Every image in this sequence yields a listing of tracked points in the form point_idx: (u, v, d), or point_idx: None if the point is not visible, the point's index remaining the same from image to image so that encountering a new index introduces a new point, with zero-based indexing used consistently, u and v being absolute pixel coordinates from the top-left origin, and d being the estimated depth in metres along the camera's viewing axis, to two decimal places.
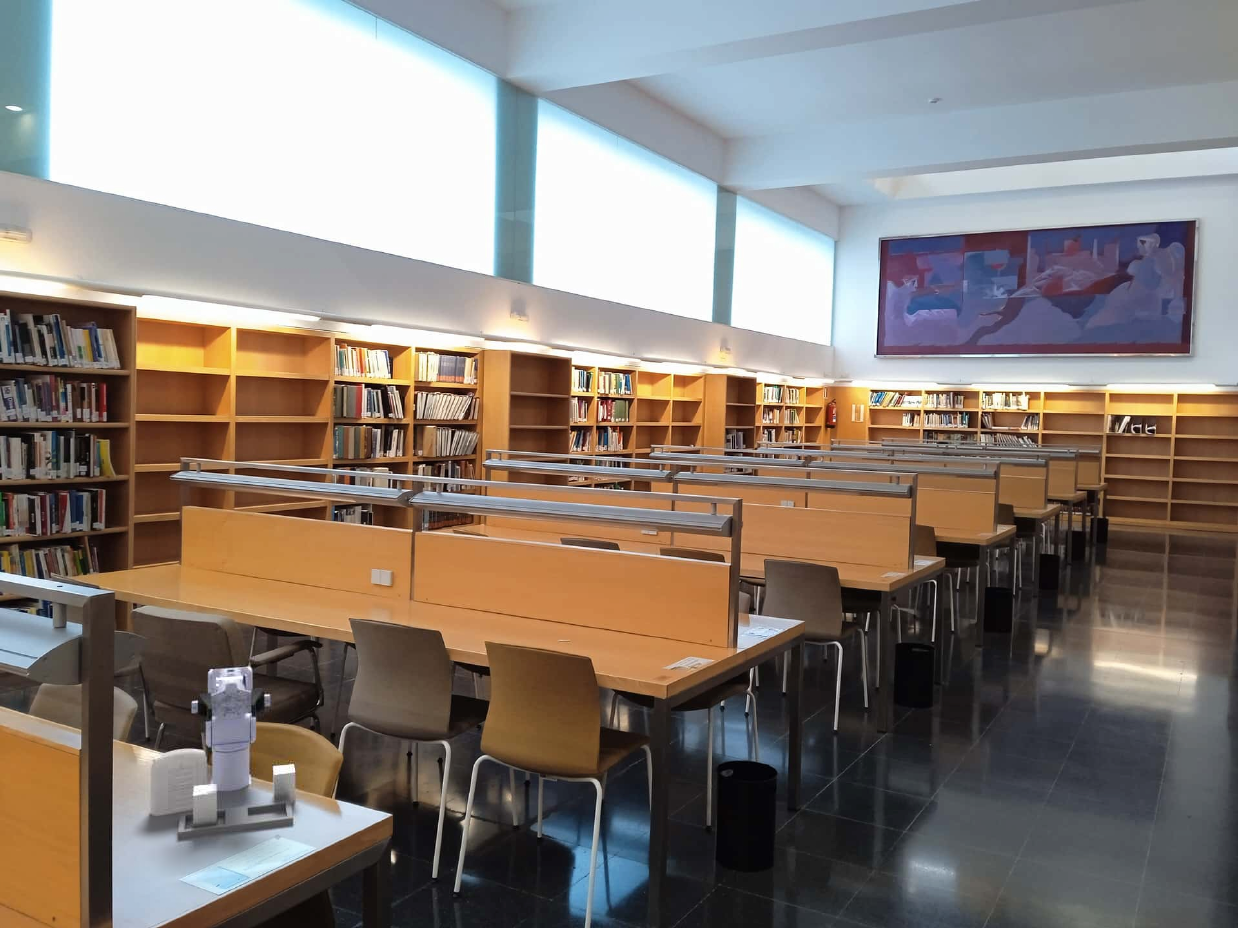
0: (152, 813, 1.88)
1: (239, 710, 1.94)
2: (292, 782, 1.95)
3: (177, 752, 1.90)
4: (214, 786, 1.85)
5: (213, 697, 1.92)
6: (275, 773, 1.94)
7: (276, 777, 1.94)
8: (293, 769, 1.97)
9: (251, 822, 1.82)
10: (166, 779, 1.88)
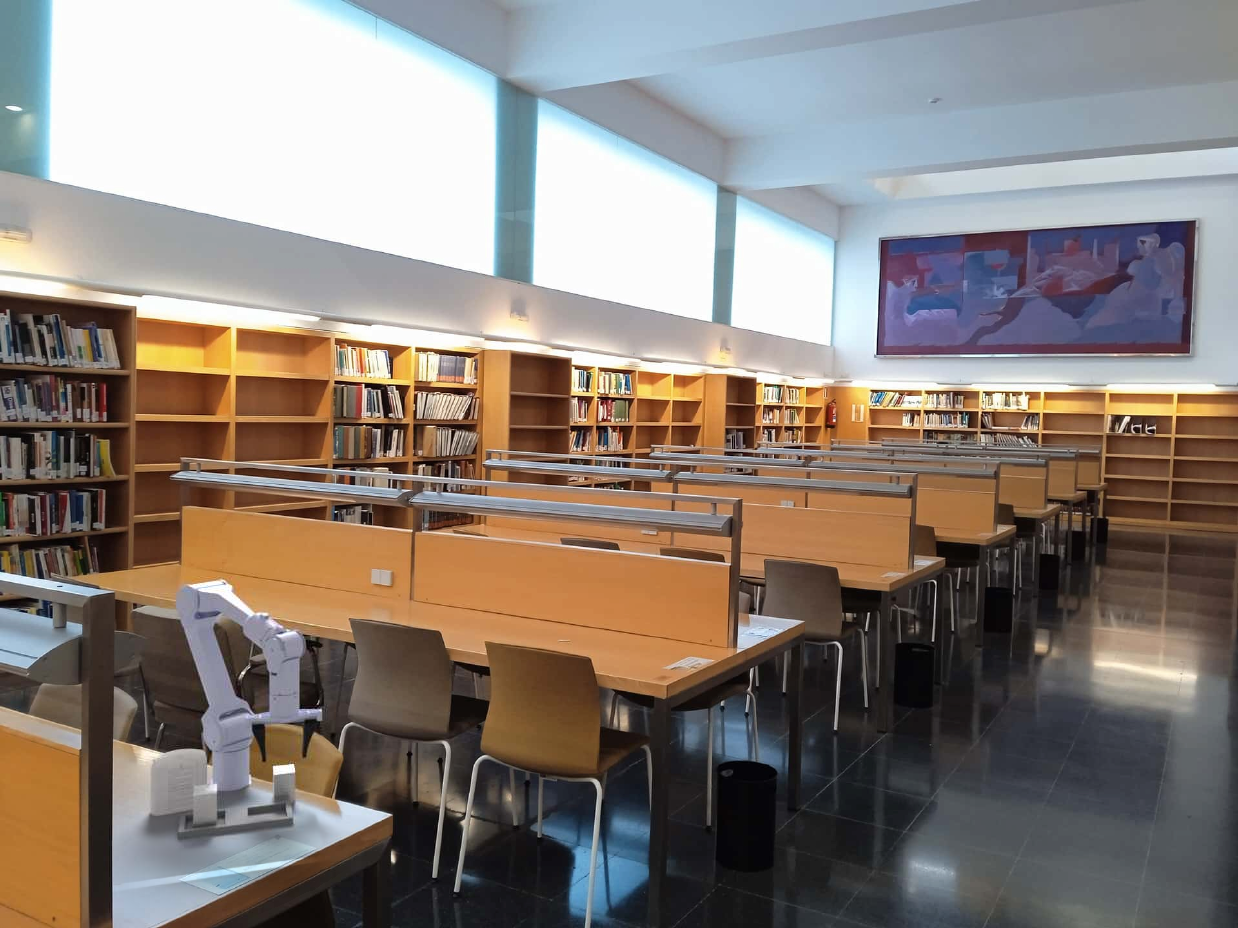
0: (152, 813, 1.88)
1: None
2: (292, 782, 1.95)
3: (177, 752, 1.90)
4: (214, 786, 1.85)
5: None
6: (275, 773, 1.94)
7: (276, 777, 1.94)
8: (293, 769, 1.97)
9: (251, 822, 1.82)
10: (166, 779, 1.88)
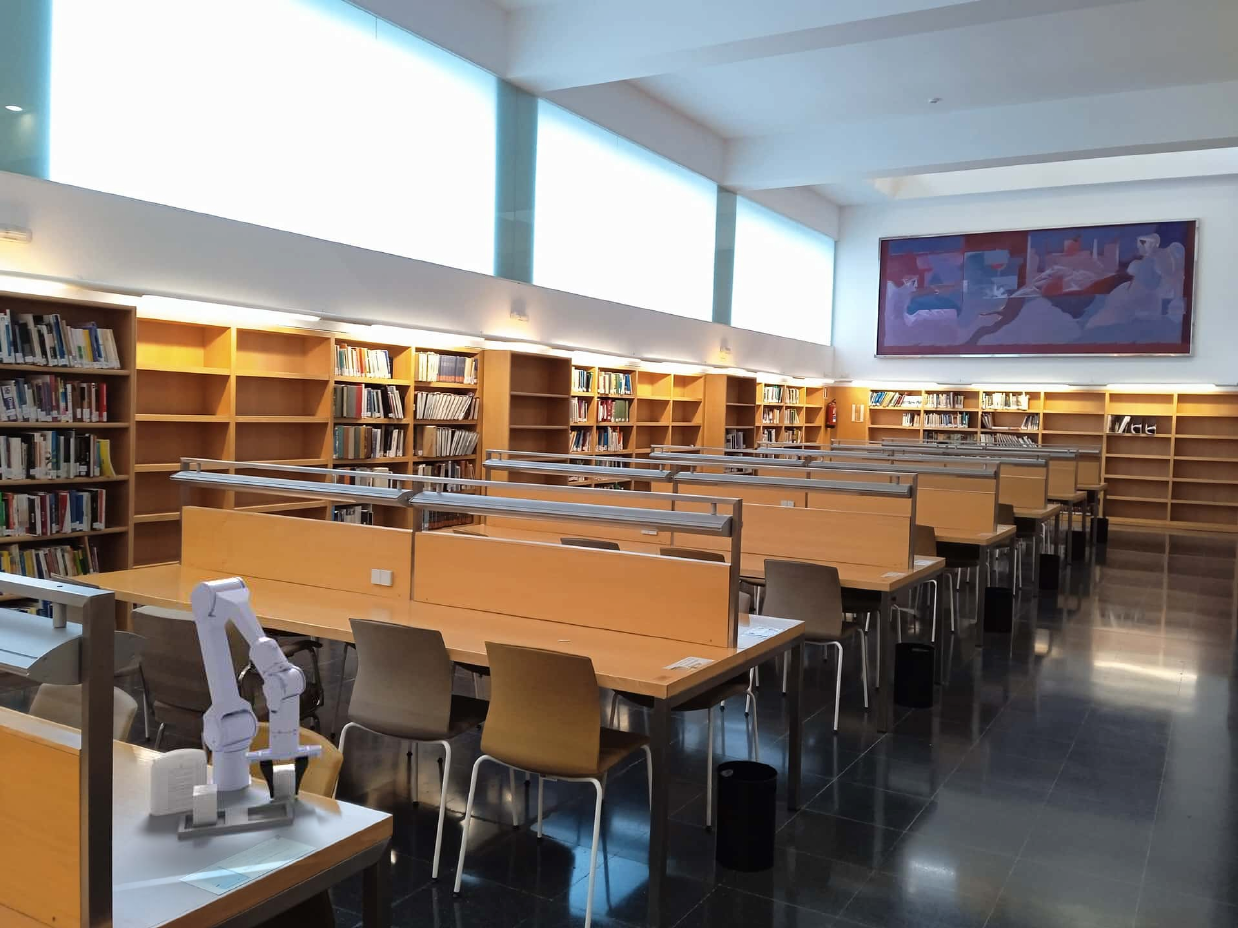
0: (152, 813, 1.88)
1: None
2: (292, 781, 1.95)
3: (177, 752, 1.90)
4: (214, 786, 1.85)
5: None
6: (275, 773, 1.94)
7: (276, 777, 1.94)
8: (293, 769, 1.97)
9: (251, 822, 1.82)
10: (167, 779, 1.88)
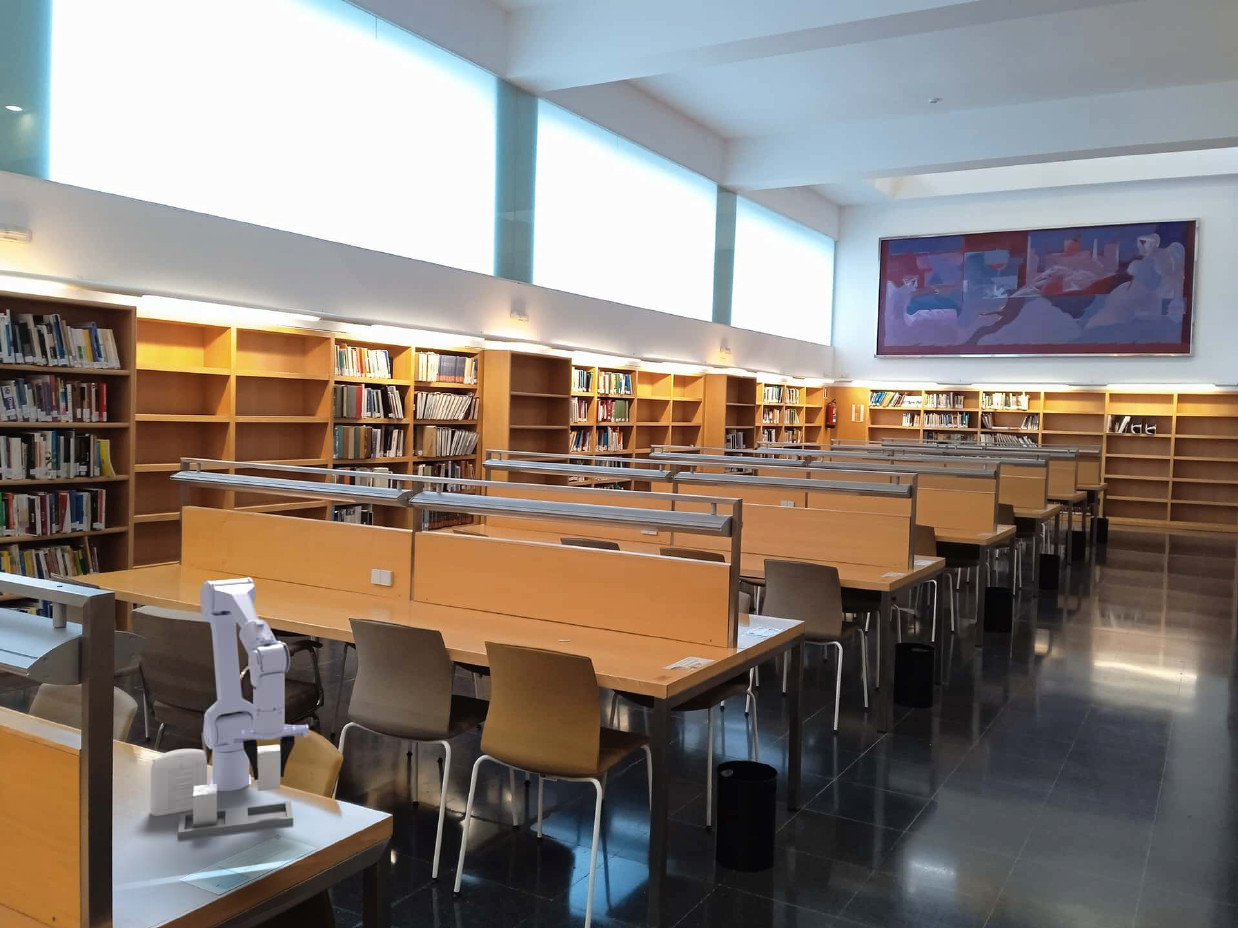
0: (152, 813, 1.88)
1: None
2: (277, 762, 1.86)
3: (177, 752, 1.90)
4: (214, 786, 1.85)
5: None
6: (259, 753, 1.85)
7: (260, 757, 1.85)
8: (278, 749, 1.87)
9: (251, 822, 1.82)
10: (166, 779, 1.88)
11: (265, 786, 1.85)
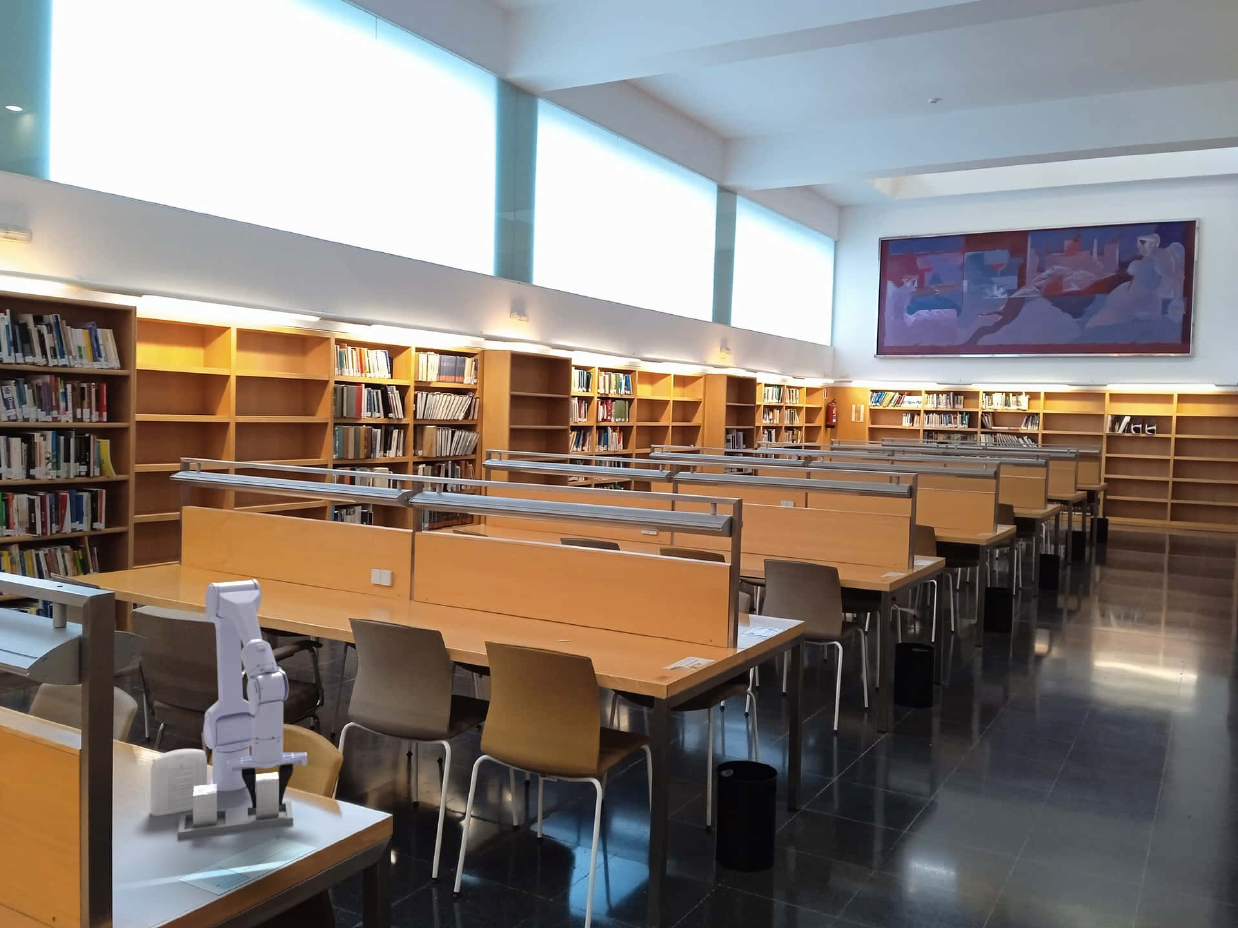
0: (152, 813, 1.88)
1: None
2: (275, 791, 1.85)
3: (177, 752, 1.90)
4: (214, 786, 1.85)
5: None
6: (258, 782, 1.85)
7: (259, 786, 1.84)
8: (277, 777, 1.87)
9: (251, 822, 1.82)
10: (166, 779, 1.88)
11: (264, 815, 1.85)
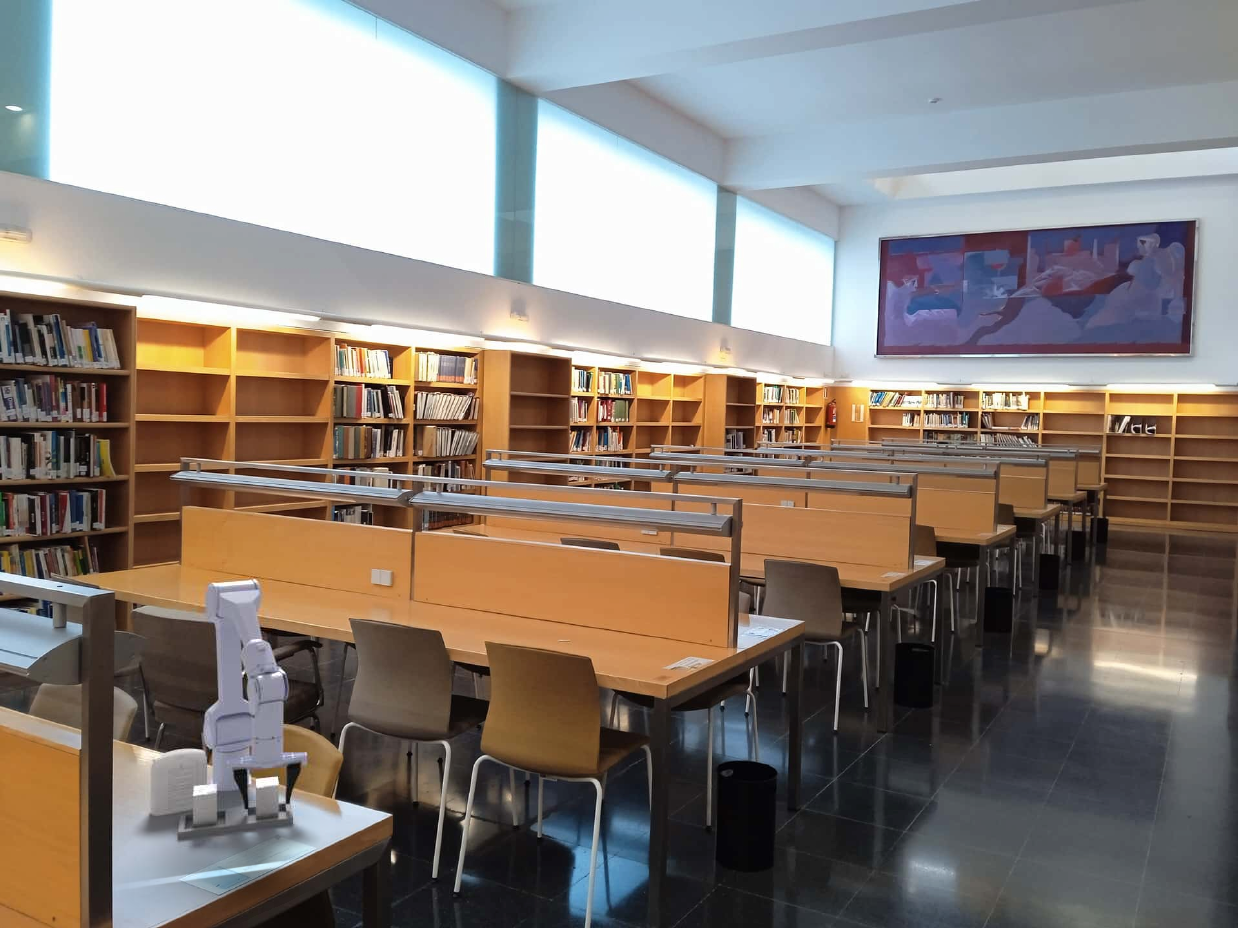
0: (152, 813, 1.88)
1: None
2: (275, 795, 1.85)
3: (177, 752, 1.90)
4: (214, 786, 1.85)
5: None
6: (257, 786, 1.85)
7: (258, 791, 1.84)
8: (277, 782, 1.87)
9: (251, 822, 1.82)
10: (166, 779, 1.88)
11: None
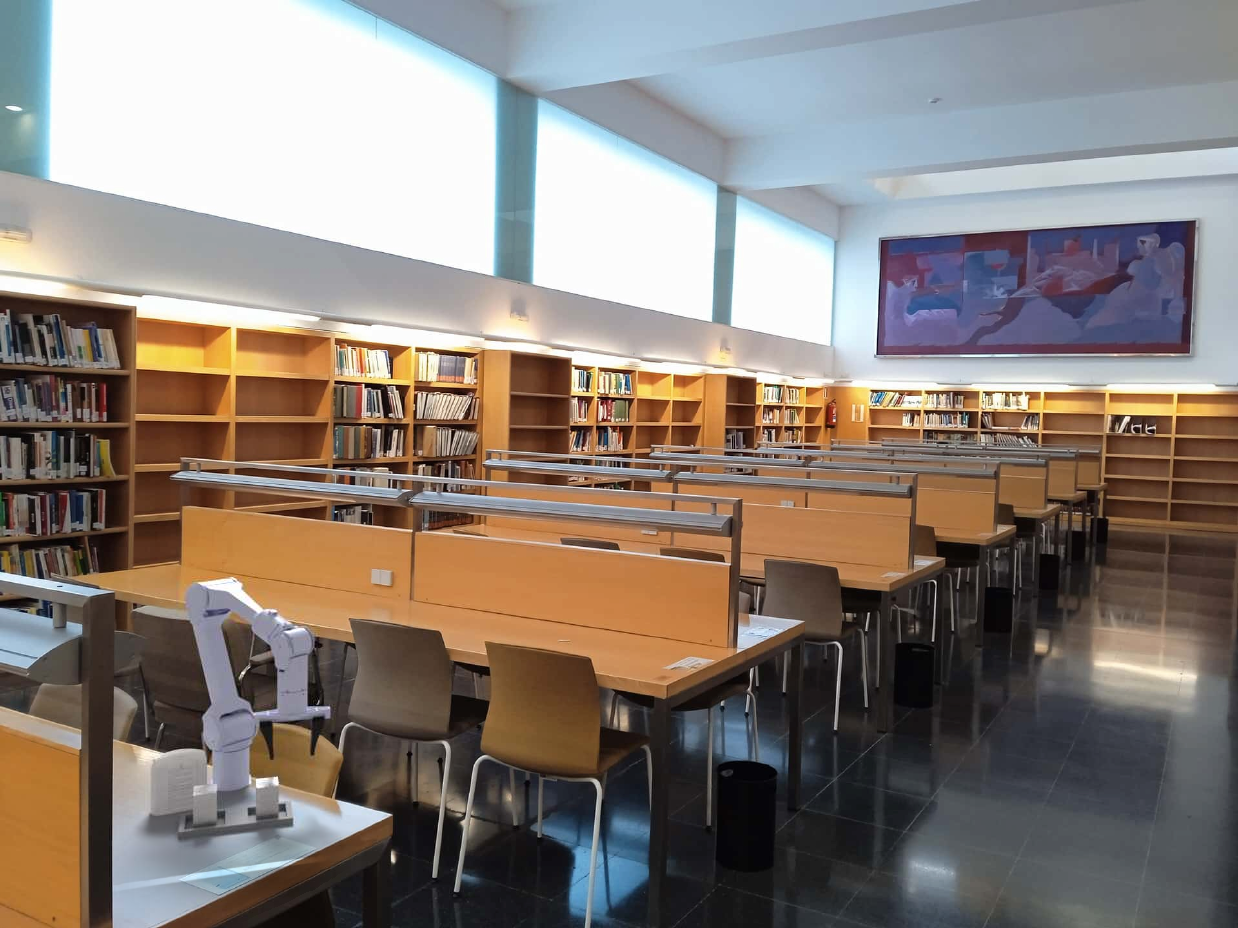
0: (152, 813, 1.88)
1: None
2: (275, 795, 1.85)
3: (177, 752, 1.90)
4: (214, 786, 1.85)
5: None
6: (257, 786, 1.85)
7: (258, 791, 1.84)
8: (277, 782, 1.87)
9: (251, 822, 1.82)
10: (166, 779, 1.88)
11: None
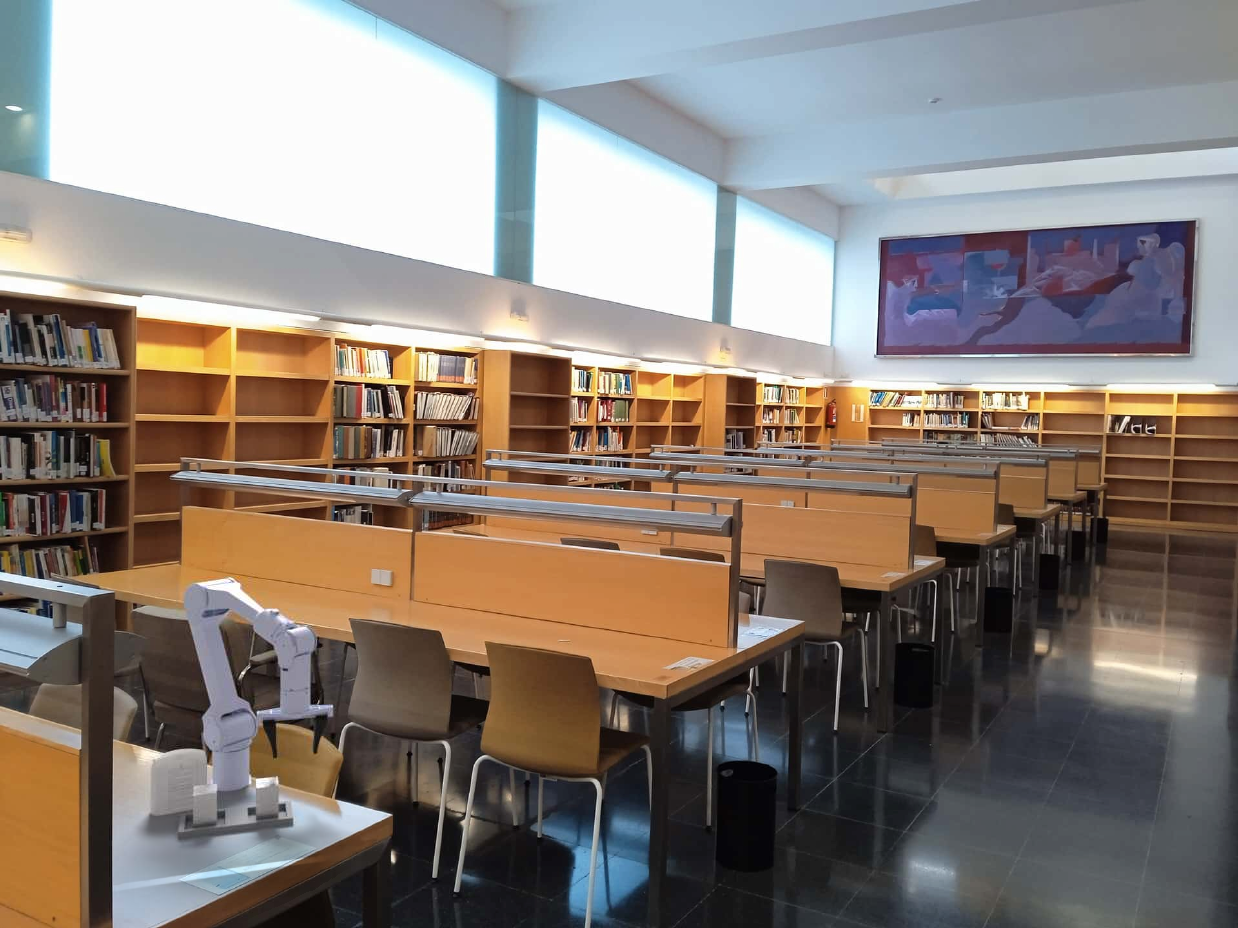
0: (152, 813, 1.88)
1: None
2: (275, 795, 1.85)
3: (177, 752, 1.90)
4: (214, 786, 1.85)
5: None
6: (257, 786, 1.85)
7: (258, 791, 1.84)
8: (277, 782, 1.87)
9: (251, 822, 1.82)
10: (166, 779, 1.88)
11: None
